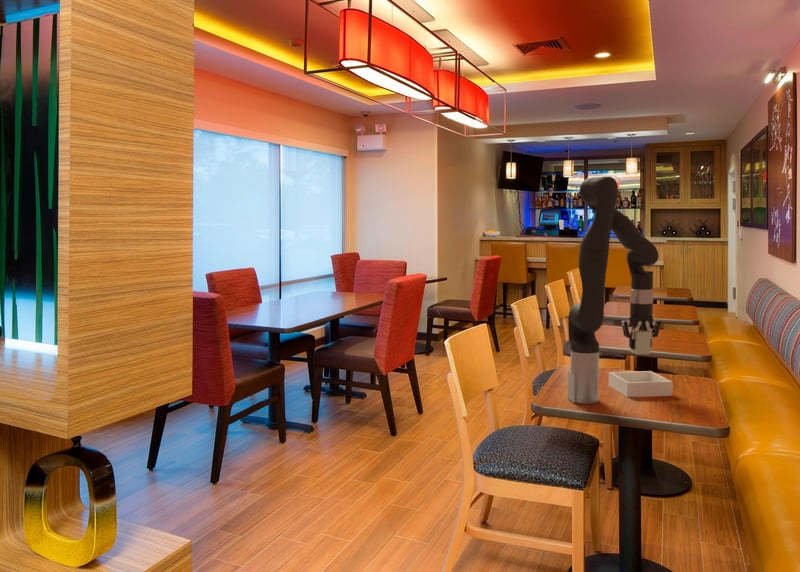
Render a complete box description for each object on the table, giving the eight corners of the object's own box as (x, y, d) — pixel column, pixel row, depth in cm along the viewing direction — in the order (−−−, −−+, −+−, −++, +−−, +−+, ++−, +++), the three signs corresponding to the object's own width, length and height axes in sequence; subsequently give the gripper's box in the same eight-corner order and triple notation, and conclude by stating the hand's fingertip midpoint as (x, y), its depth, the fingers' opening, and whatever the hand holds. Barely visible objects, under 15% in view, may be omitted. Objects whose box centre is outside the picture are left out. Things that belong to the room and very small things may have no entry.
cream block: (636, 354, 216) (637, 332, 215) (630, 351, 221) (630, 329, 220) (650, 354, 216) (650, 331, 216) (643, 351, 221) (644, 329, 221)
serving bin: (627, 397, 212) (627, 382, 211) (608, 385, 228) (608, 372, 227) (672, 395, 213) (672, 381, 212) (650, 384, 229) (650, 371, 228)
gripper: (626, 303, 213) (625, 351, 214) (666, 302, 214) (665, 350, 215) (617, 300, 220) (616, 347, 222) (656, 300, 221) (654, 346, 223)
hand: (640, 348), depth 219 cm, fingers closed on cream block, 5 cm apart
